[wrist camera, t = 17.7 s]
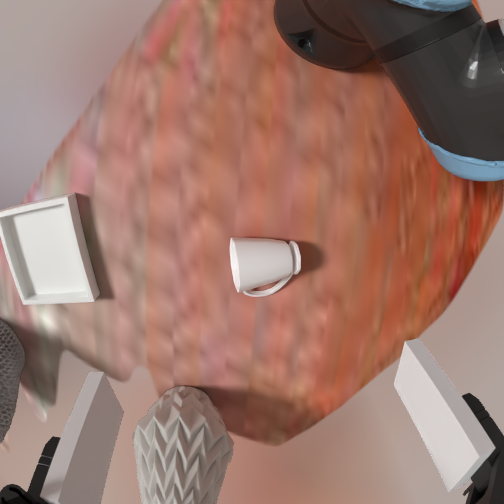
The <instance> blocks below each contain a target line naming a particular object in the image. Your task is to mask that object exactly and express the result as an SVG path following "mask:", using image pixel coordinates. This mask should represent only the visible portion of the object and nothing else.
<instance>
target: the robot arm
mask: <svg viewBox="0 0 504 504" xmlns="http://www.w3.org/2000/svg"><path fill="white" fill-rule="evenodd" d="M471 1H472V0H275V4H274V20H275V24H276V27H277V30H278V32H279V34H280V35H281V37H282V39H283V40H284V41H285V43H286V44H287V45H288V46H289V47H290V48H291V49H292V50H293V51H294V52H295V53H296V54H298V55H299V56H301V57H302V58H304V59H305V60H307V61H309V62H311V63H313V64H316V65H319V66H322V67H326V68H331V69H349V68H353V67H357V66H359V65H362V64H364V63H366V62H368V61H370V60H371V59H373V58H374V57H375V56H376V57H377V58H378V60H379V61H380V64H381V65H382V67H383V68H384V70H385V71H386V73H387V74H388V76H389V77H390V79H391V80H392V82H393V84H394V85H395V87H396V88H397V90H398V92H399V93H400V95H401V97H402V98H403V100H404V102H405V104H406V105H407V107H408V109H409V111H410V112H411V114H412V116H413V118H414V120H415V121H416V123H417V125H418V130H419V132H420V134H421V136H422V138H423V139H424V140H425V141H426V142H427V143H428V145H429V147H430V149H431V150H432V152H433V154H434V156H435V158H436V159H437V161H438V162H439V163H440V165H441V166H443V167H444V168H445V169H446V170H447V171H449V172H450V173H452V174H454V175H456V176H458V177H461V178H464V179H468V180H473V181H498V180H503V179H504V19H497V20H494V21H491V22H488V23H485V22H484V21H483V20H482V18H481V16H480V15H479V13H478V12H477V10H476V8H475V7H474V5H473V4H472V2H471ZM394 386H395V388H396V390H397V392H398V394H399V395H400V397H401V399H402V401H403V403H404V405H405V407H406V408H407V410H408V412H409V414H410V416H411V418H412V420H413V422H414V423H415V425H416V427H417V429H418V431H419V433H420V435H421V437H422V439H423V441H424V443H425V445H426V447H427V449H428V451H429V452H430V455H431V457H432V459H433V461H434V463H435V465H436V467H437V469H438V471H439V473H440V475H441V477H442V479H443V481H444V483H445V485H446V487H447V490H448V492H450V491H452V490H455V489H457V488H459V487H461V486H463V485H464V484H465V483H466V482H467V481H468V480H469V479H470V478H471V480H472V481H473V483H472V484H471V485H470V486H469V487H468V488H467V489H466V490H465V492H464V494H463V495H464V496H465V495H466V494H467V493H468V492H469V494H468V498H467V501H466V504H504V436H503V434H502V433H501V431H500V429H499V428H498V426H497V425H496V424H495V422H494V421H493V419H492V418H491V417H490V416H489V413H488V412H487V411H486V410H485V408H484V406H483V405H482V404H481V402H480V401H479V399H477V398H476V397H475V396H473V395H472V394H470V393H468V394H465V395H463V396H461V395H460V393H459V392H458V390H457V389H456V388H455V386H454V385H453V383H452V382H451V381H450V379H449V378H448V376H447V375H446V374H445V372H444V371H443V369H442V368H441V367H440V365H439V364H438V363H437V361H436V360H435V359H434V357H433V356H432V355H431V353H430V352H429V351H428V349H427V348H426V347H425V345H424V344H423V343H422V341H421V340H420V339H419V338H418V339H414V340H409V341H405V343H404V347H403V351H402V355H401V359H400V363H399V367H398V371H397V375H396V378H395V381H394ZM123 413H124V412H123V410H122V408H121V406H120V404H119V402H118V400H117V398H116V396H115V394H114V392H113V390H112V388H111V386H110V384H109V382H108V379H107V377H106V375H105V373H104V372H92V371H90V372H89V373H88V375H87V378H86V380H85V382H84V384H83V386H82V389H81V391H80V393H79V395H78V398H77V400H76V402H75V405H74V407H73V409H72V412H71V414H70V417H69V419H68V421H67V424H66V426H65V429H64V431H63V434H62V436H61V438H59V437H52V438H51V439H50V440H49V441H48V442H47V443H46V445H45V447H44V449H43V452H42V454H41V455H42V456H41V457H40V459H39V462H38V463H39V464H38V465H37V467H36V470H35V472H34V475H33V478H32V480H31V483H30V486H29V489H28V491H27V492H26V491H24V490H23V489H22V488H21V487H20V486H18V485H14V484H10V485H7V486H5V487H4V488H3V489H2V490H1V492H0V504H101V500H102V496H103V491H104V487H105V482H106V478H107V474H108V469H109V466H110V462H111V458H112V454H113V450H114V446H115V442H116V439H117V435H118V431H119V427H120V424H121V420H122V417H123Z"/></svg>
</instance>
